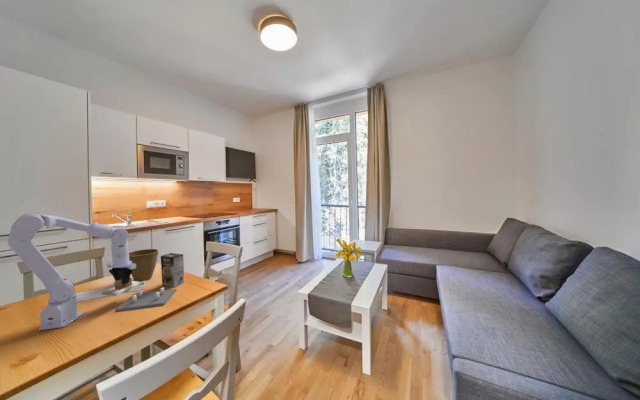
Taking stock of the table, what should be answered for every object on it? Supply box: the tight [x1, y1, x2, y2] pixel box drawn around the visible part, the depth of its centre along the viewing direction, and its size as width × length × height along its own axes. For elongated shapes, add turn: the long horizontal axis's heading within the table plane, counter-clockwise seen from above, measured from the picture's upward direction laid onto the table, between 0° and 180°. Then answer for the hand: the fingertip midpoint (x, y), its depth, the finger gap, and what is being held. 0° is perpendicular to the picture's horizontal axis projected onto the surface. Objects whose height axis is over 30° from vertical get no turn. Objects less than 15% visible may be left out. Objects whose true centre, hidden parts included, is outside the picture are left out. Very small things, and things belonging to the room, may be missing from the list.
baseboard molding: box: [74, 280, 148, 303], centre depth 109 cm, size 31×3×12 cm
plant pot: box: [129, 248, 159, 282], centre depth 125 cm, size 15×15×16 cm
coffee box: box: [160, 252, 185, 288], centre depth 118 cm, size 9×6×16 cm
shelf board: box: [102, 276, 144, 298], centre depth 100 cm, size 12×8×5 cm, turn 167°
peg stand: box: [115, 286, 177, 312], centre depth 101 cm, size 14×18×4 cm
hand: (122, 283), depth 100 cm, fingers closed on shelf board, 3 cm apart
